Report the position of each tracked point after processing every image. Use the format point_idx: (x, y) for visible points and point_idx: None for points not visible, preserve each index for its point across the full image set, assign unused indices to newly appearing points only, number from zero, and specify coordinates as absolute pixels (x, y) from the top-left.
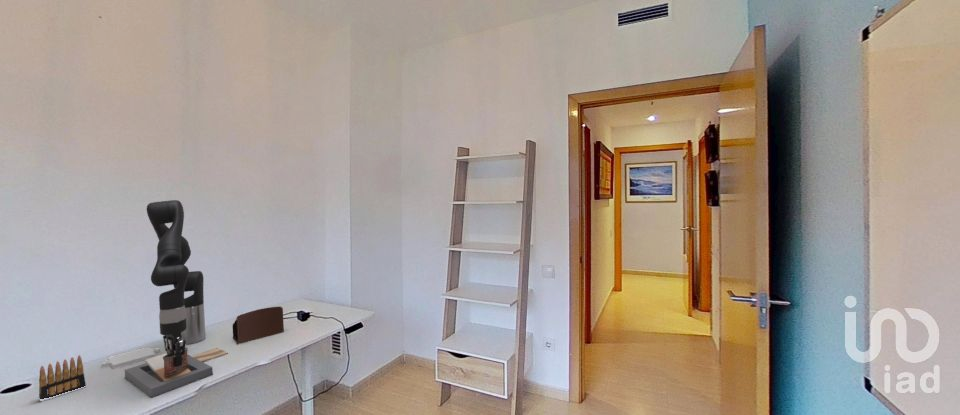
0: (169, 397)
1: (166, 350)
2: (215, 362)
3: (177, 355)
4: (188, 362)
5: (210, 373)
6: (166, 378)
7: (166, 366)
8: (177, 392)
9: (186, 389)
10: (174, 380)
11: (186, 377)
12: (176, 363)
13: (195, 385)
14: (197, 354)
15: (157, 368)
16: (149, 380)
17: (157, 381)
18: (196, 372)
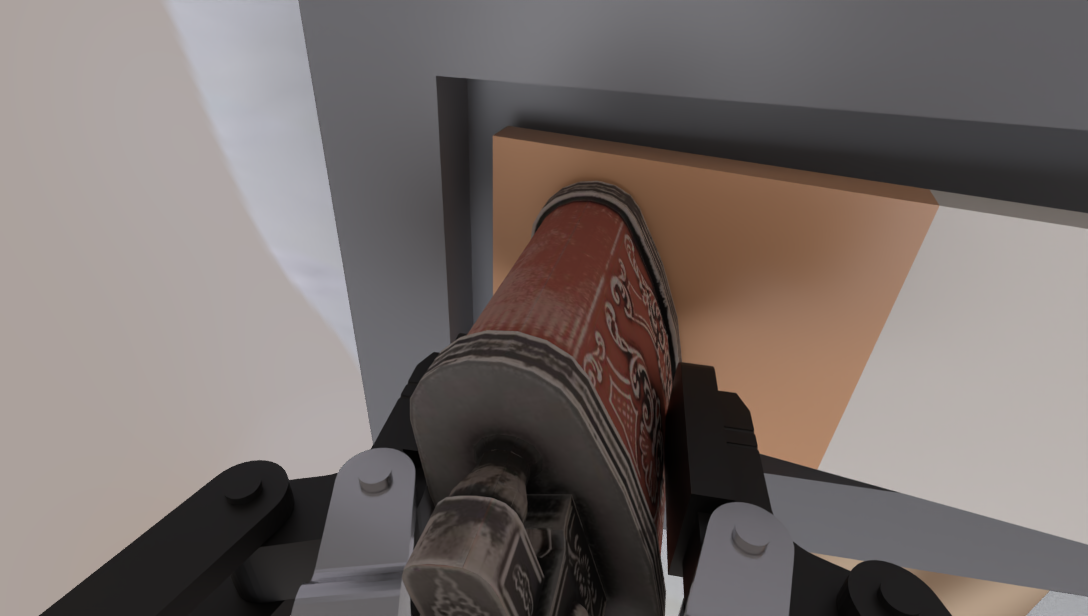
0: (186, 18)
1: (855, 586)
2: (661, 548)
3: (213, 493)
4: (767, 485)
5: None
6: (566, 185)
7: (510, 272)
8: (259, 121)
9: (265, 196)
10: (337, 187)
11: (354, 291)
12: (420, 376)
13: (294, 272)
14: (1022, 606)
15: (960, 255)
16: (696, 12)
17: (518, 61)
18: (369, 382)
